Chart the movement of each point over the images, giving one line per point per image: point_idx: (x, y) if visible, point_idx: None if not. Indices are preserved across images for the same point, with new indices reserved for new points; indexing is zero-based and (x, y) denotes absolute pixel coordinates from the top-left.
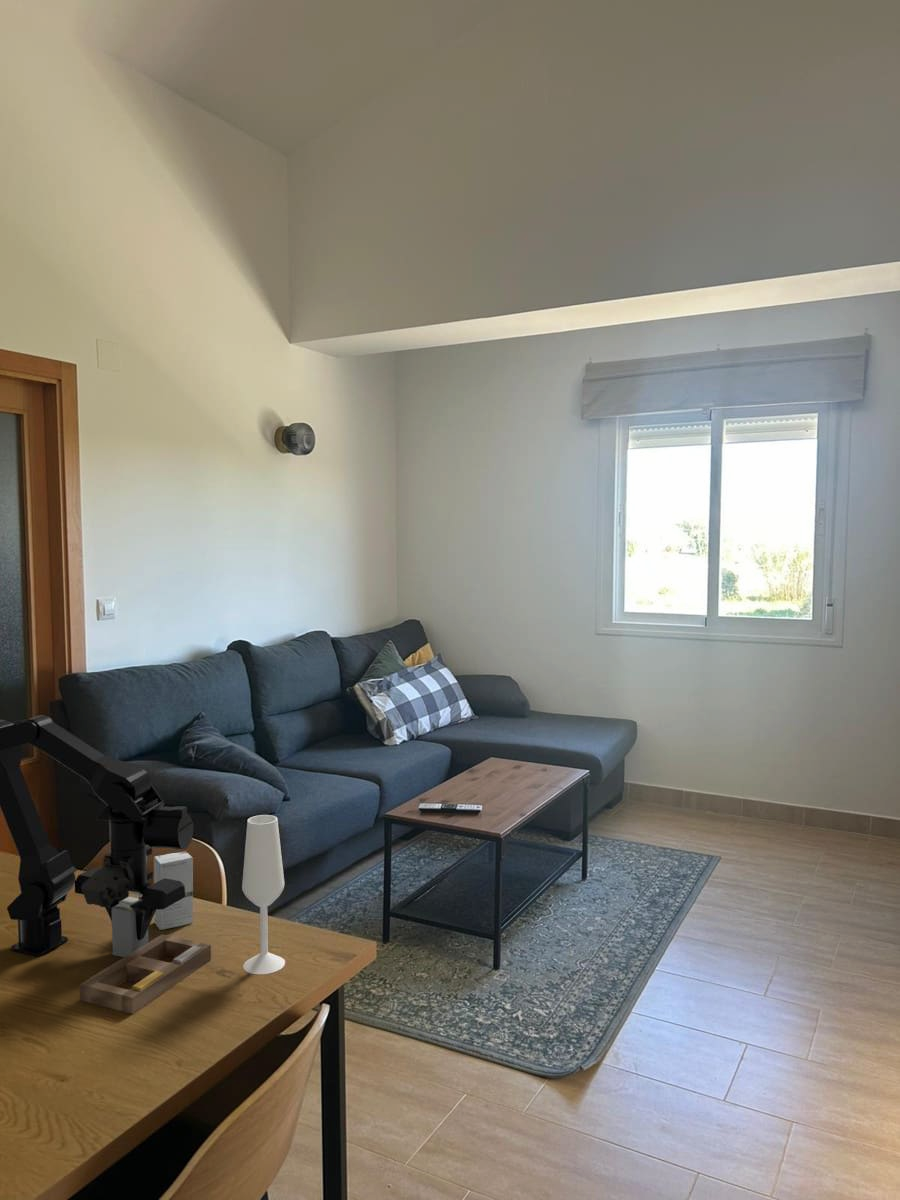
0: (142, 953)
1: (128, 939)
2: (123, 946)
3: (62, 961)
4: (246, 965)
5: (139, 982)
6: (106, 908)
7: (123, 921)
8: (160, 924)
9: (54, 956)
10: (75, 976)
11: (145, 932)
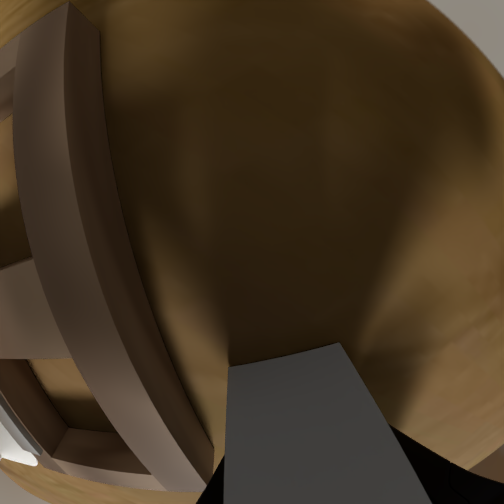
0: (89, 380)
1: (246, 432)
2: (283, 392)
3: (460, 183)
4: (2, 427)
5: None
6: (493, 488)
7: None
8: None
9: (496, 196)
10: (310, 112)
11: None
